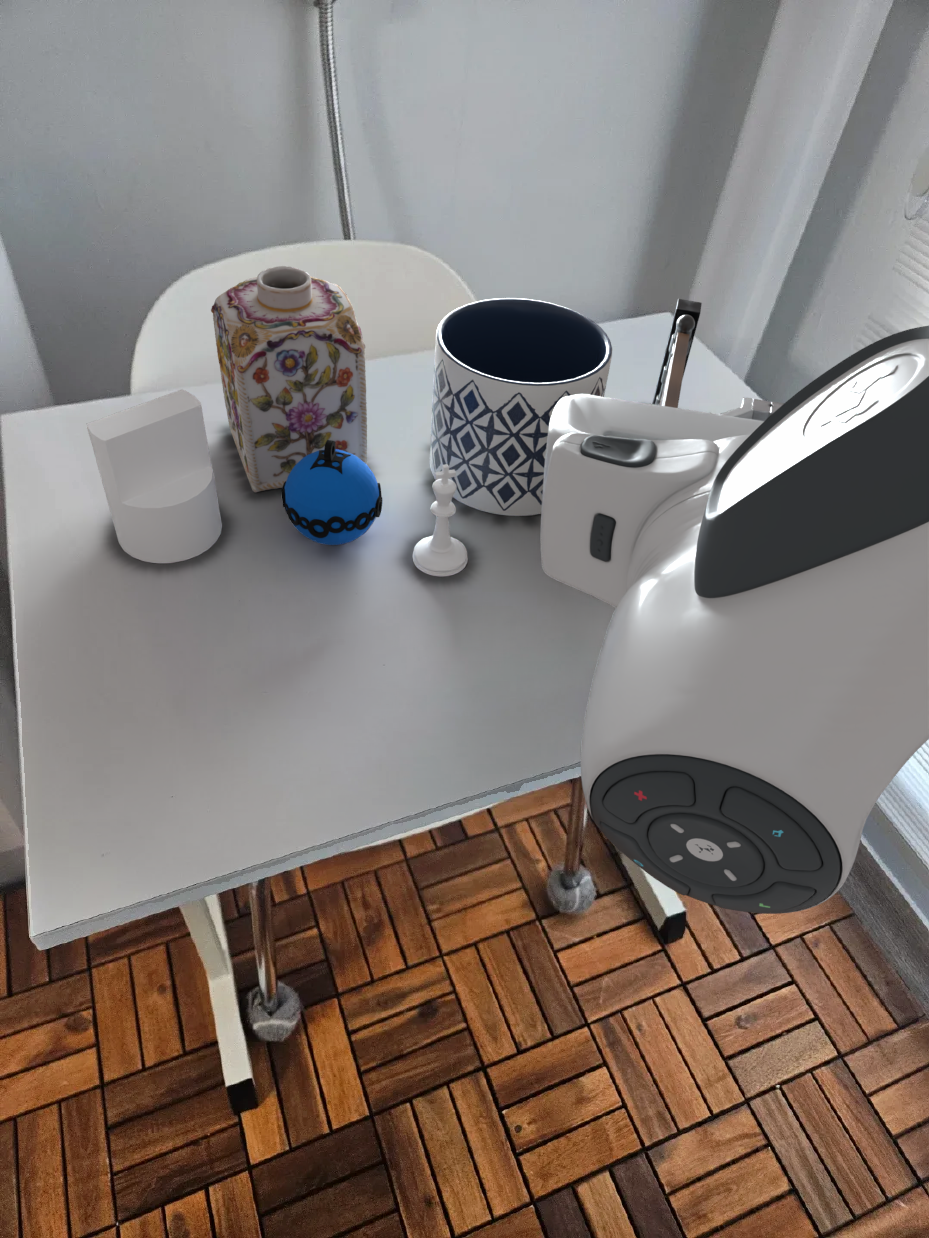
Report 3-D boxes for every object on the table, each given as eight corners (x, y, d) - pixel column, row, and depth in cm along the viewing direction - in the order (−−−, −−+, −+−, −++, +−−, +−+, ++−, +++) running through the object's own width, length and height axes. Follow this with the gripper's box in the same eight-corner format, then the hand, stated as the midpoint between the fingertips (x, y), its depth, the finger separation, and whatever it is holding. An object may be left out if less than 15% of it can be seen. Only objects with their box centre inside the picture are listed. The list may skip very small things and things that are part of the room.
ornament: (301, 499, 84) (294, 407, 77) (390, 513, 83) (391, 421, 76) (273, 558, 78) (262, 464, 71) (369, 573, 77) (367, 480, 70)
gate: (652, 414, 97) (678, 309, 88) (670, 418, 96) (698, 313, 88) (625, 547, 80) (654, 434, 72) (647, 552, 80) (678, 439, 72)
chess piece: (405, 545, 80) (408, 453, 73) (457, 536, 82) (464, 445, 74) (421, 581, 77) (426, 488, 70) (475, 571, 78) (484, 479, 71)
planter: (558, 421, 96) (579, 293, 86) (609, 511, 86) (640, 378, 75) (414, 432, 93) (418, 301, 83) (449, 528, 82) (459, 391, 72)
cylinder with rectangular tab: (188, 487, 84) (166, 373, 75) (241, 535, 80) (224, 420, 71) (98, 525, 79) (64, 408, 71) (150, 578, 75) (120, 460, 66)
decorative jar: (338, 412, 95) (331, 243, 82) (370, 475, 87) (369, 300, 74) (225, 429, 91) (199, 255, 78) (249, 496, 84) (225, 316, 71)
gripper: (1064, 532, 32) (1008, 386, 42) (515, 440, 37) (586, 329, 47) (996, 665, 36) (960, 501, 46) (507, 566, 40) (575, 438, 51)
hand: (768, 414), depth 47 cm, fingers closed
